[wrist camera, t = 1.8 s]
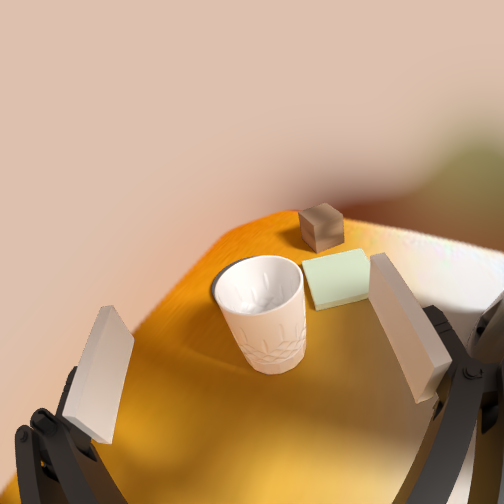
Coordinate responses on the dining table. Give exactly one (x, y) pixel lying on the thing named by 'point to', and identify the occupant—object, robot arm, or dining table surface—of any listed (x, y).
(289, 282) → the white cup
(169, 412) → the dining table surface
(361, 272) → the green mat
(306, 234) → the walnut block
